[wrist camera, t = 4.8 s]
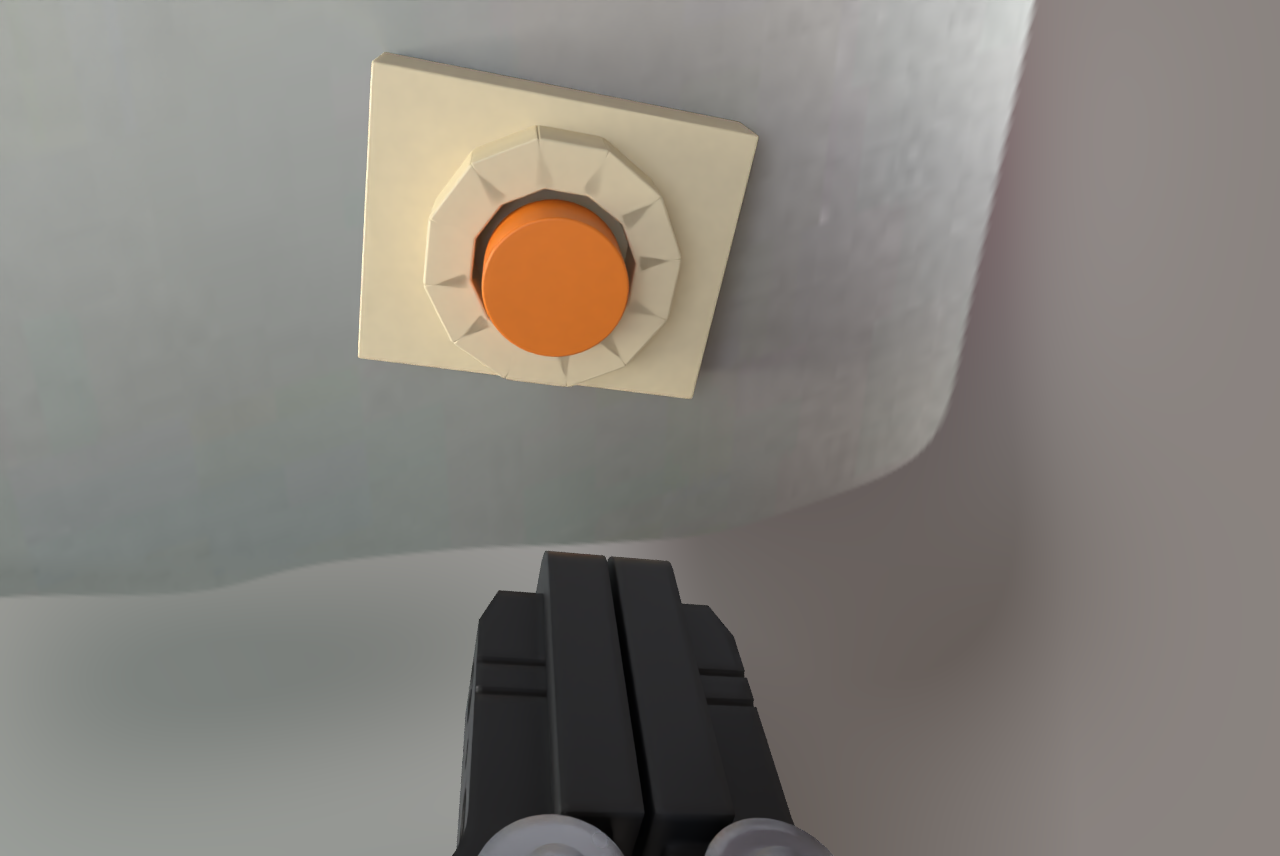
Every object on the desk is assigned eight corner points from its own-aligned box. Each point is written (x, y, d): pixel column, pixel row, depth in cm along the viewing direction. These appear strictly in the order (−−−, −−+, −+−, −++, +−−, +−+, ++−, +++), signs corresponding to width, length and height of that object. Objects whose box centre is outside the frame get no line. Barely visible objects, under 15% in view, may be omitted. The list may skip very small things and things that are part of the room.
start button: (633, 211, 22) (642, 230, 20) (608, 339, 23) (614, 366, 22) (492, 187, 21) (490, 205, 19) (476, 321, 22) (474, 348, 21)
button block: (740, 121, 24) (778, 149, 21) (680, 369, 28) (703, 428, 25) (383, 51, 22) (359, 69, 19) (369, 328, 26) (346, 386, 22)
